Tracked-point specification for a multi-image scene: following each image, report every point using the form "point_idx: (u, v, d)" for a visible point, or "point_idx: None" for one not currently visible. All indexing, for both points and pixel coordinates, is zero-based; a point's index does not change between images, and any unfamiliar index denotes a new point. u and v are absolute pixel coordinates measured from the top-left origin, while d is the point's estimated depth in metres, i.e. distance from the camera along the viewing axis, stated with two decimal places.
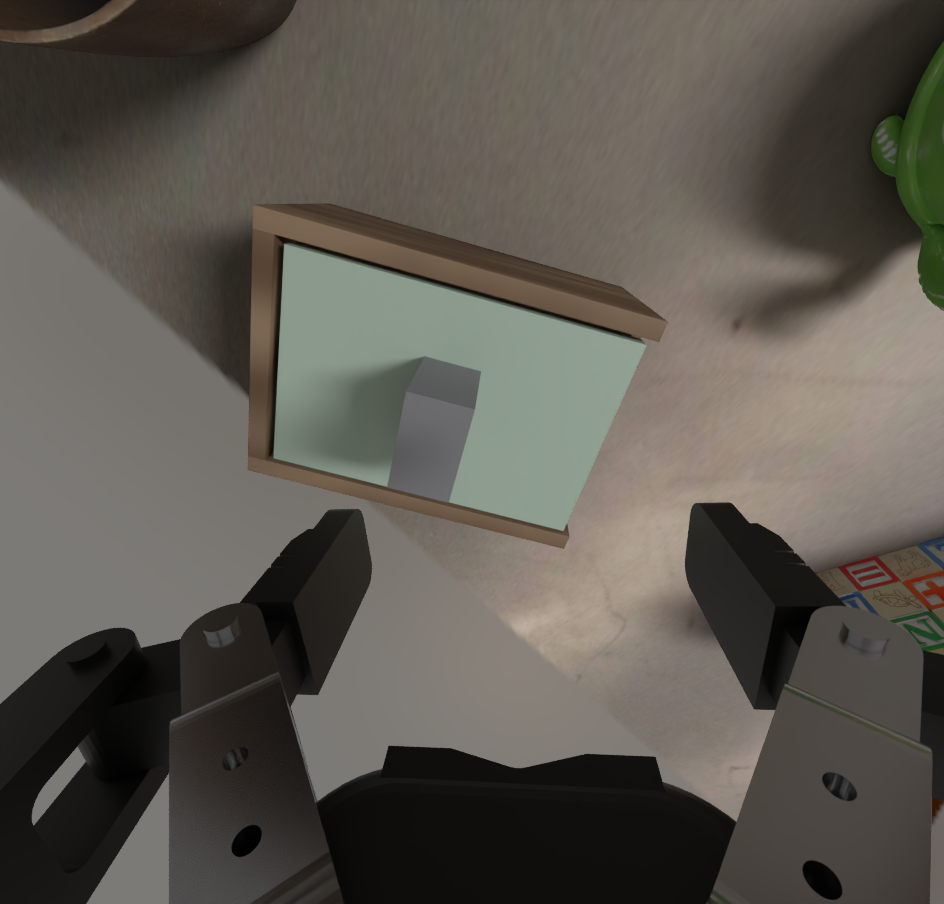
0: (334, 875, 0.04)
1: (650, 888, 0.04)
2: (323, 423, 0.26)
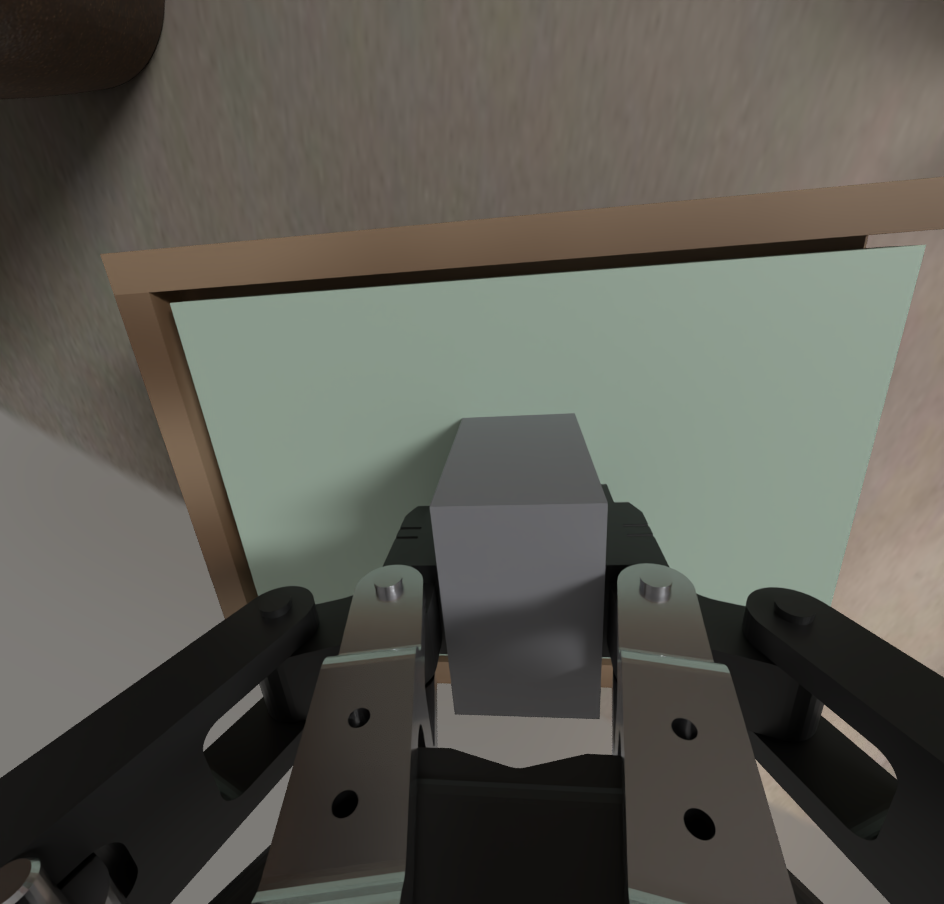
0: (399, 890, 0.04)
1: None
2: (331, 580, 0.15)
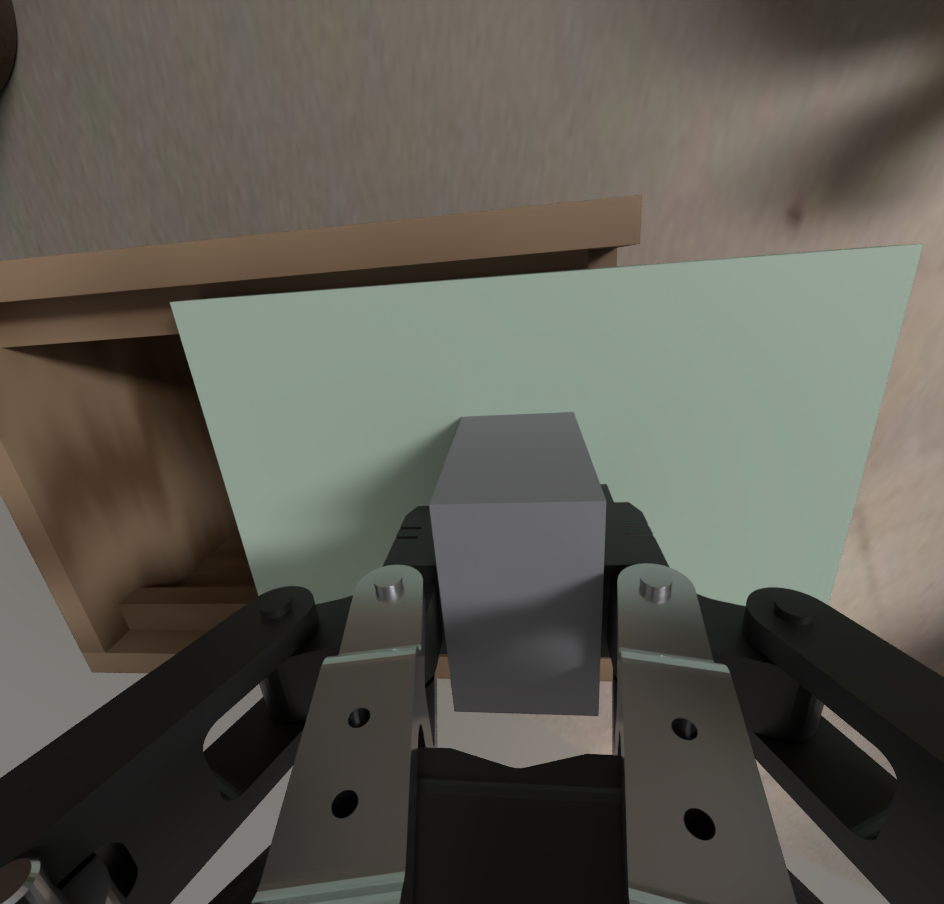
0: (400, 890, 0.04)
1: None
2: (331, 578, 0.15)
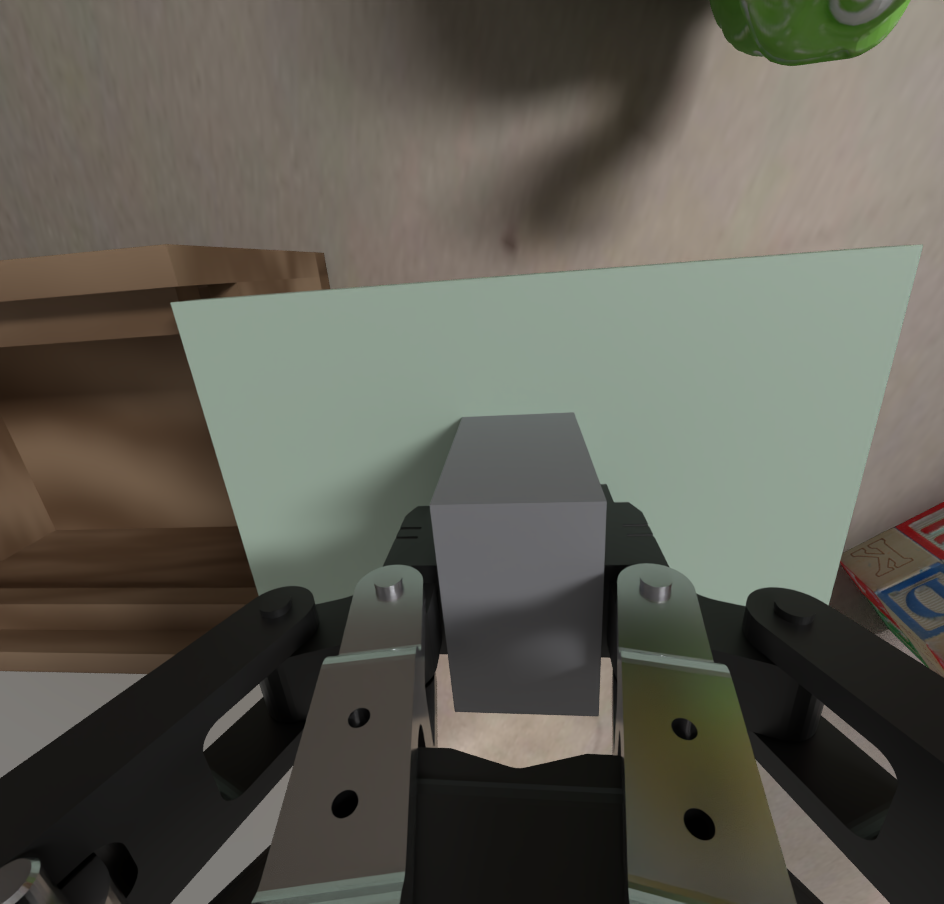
0: (400, 890, 0.04)
1: None
2: (331, 578, 0.15)
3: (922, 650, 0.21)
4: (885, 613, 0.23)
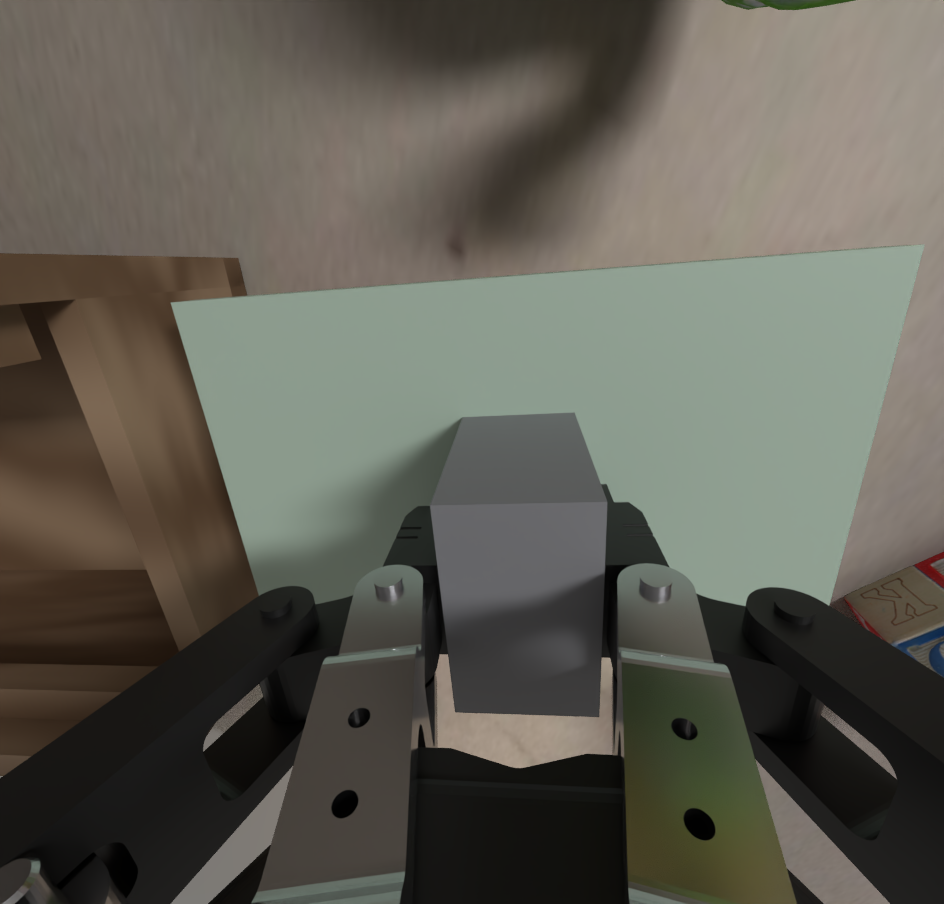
0: (400, 889, 0.04)
1: None
2: (331, 578, 0.15)
3: None
4: None
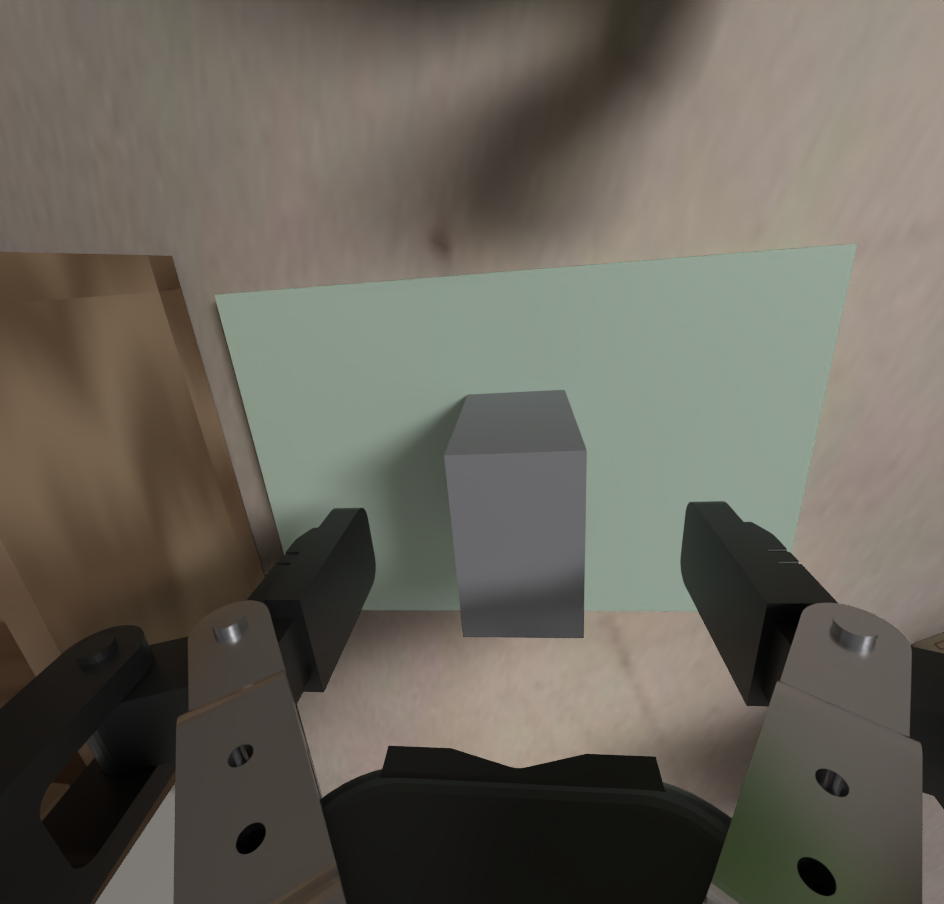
0: (337, 875, 0.04)
1: (650, 888, 0.04)
2: None
3: None
4: None
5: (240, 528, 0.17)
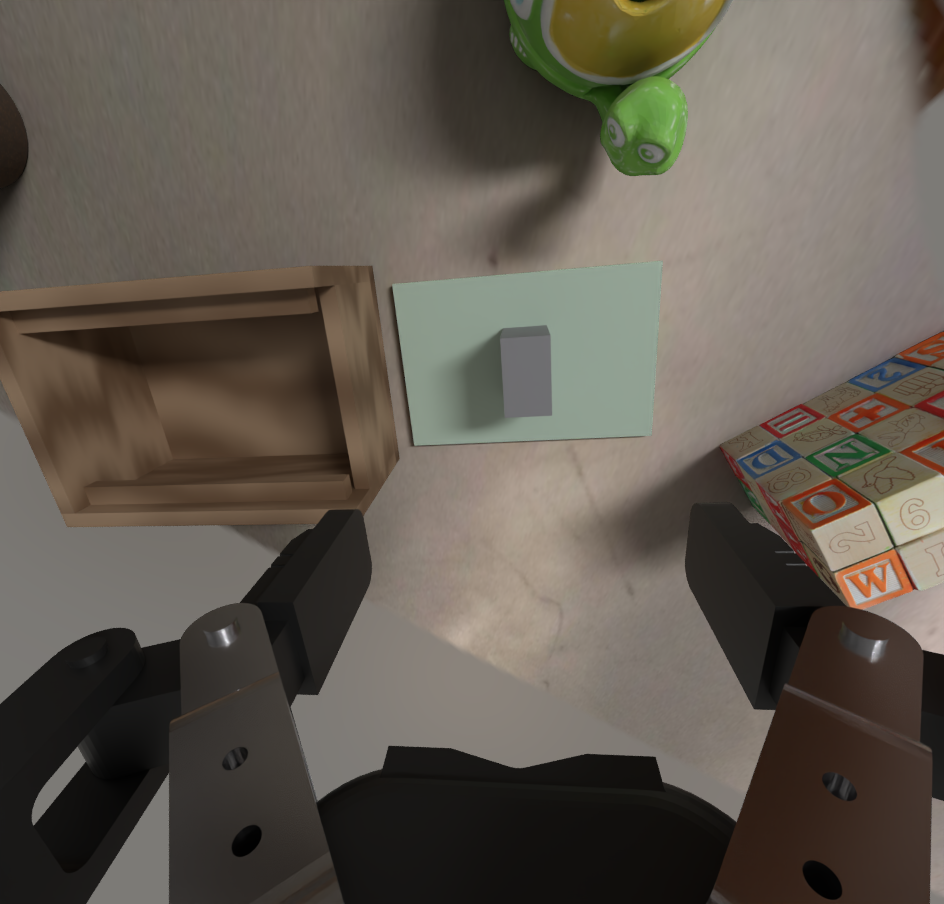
0: (334, 875, 0.04)
1: (650, 888, 0.04)
2: (443, 405, 0.35)
3: (759, 496, 0.31)
4: (745, 483, 0.34)
5: (388, 399, 0.35)
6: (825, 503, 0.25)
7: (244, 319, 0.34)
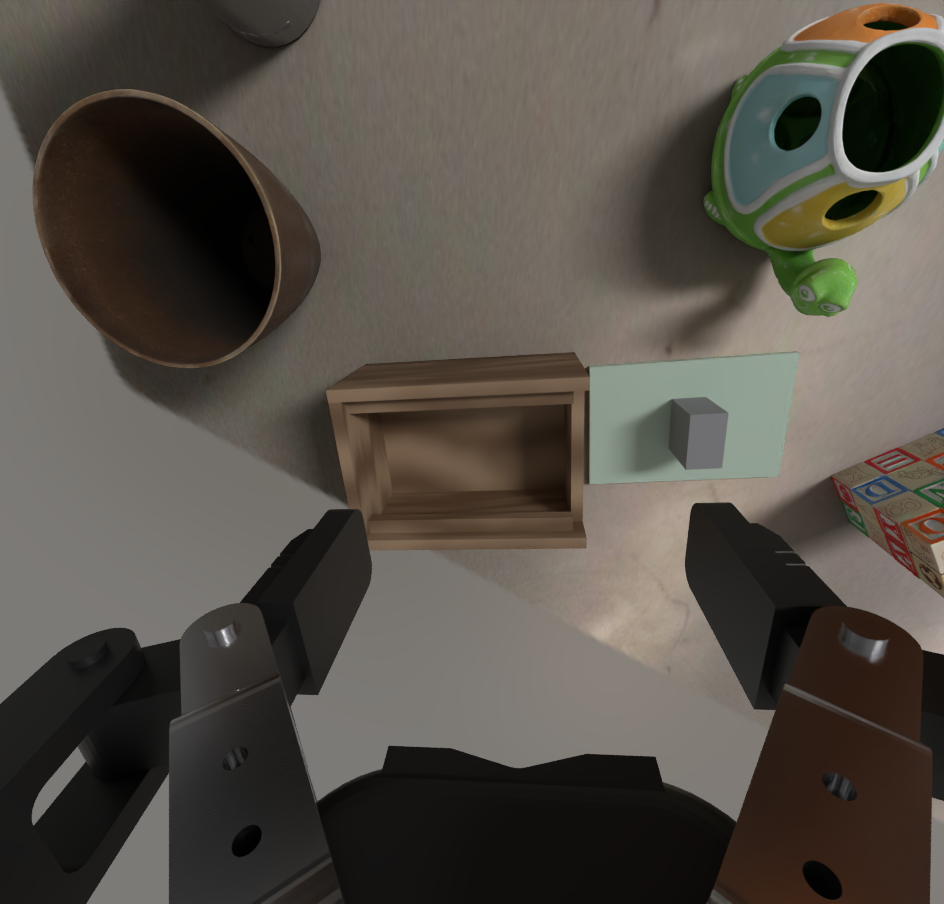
0: (334, 876, 0.04)
1: (650, 888, 0.04)
2: (617, 454, 0.46)
3: (869, 517, 0.42)
4: (852, 505, 0.44)
5: None
6: (937, 526, 0.35)
7: None
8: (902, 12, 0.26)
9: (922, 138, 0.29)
